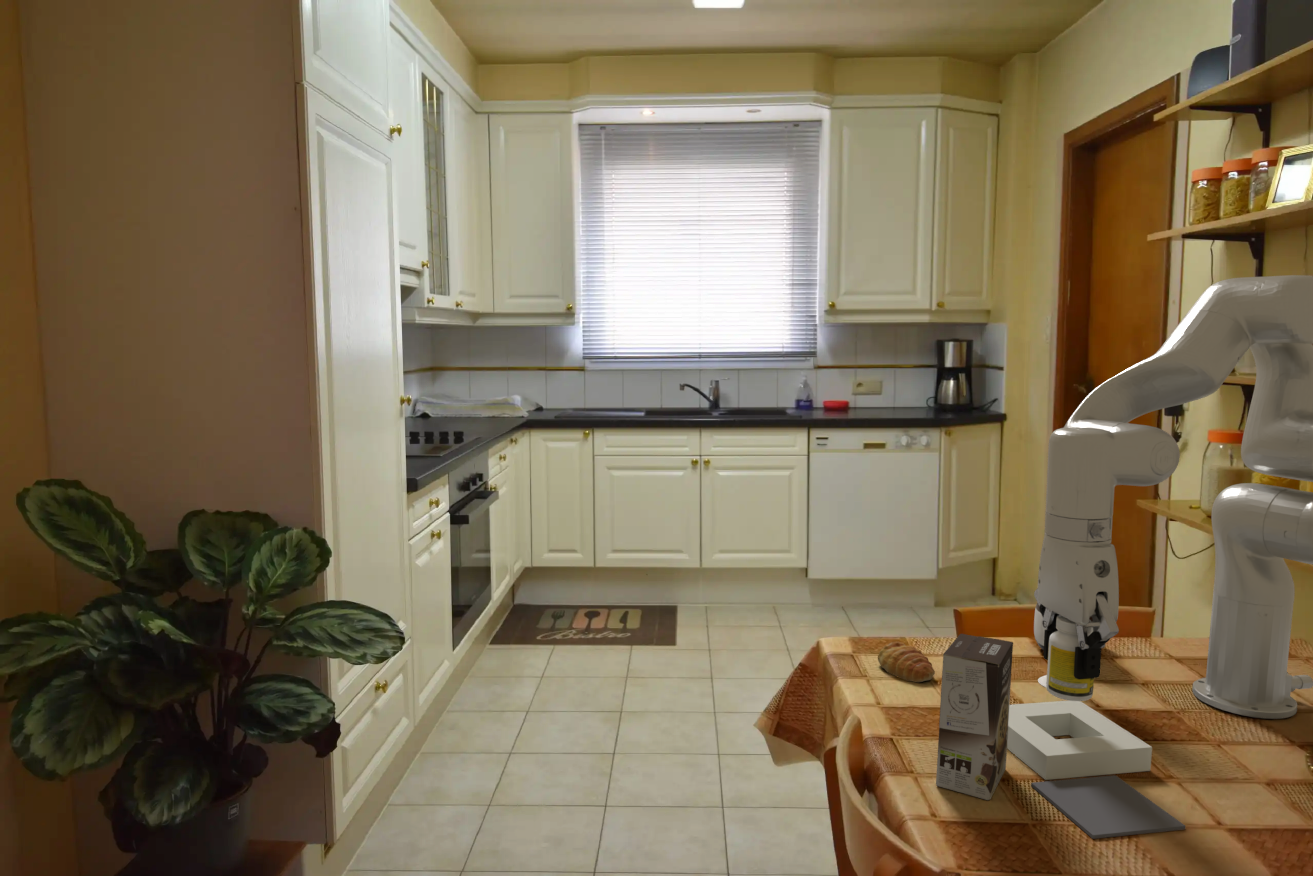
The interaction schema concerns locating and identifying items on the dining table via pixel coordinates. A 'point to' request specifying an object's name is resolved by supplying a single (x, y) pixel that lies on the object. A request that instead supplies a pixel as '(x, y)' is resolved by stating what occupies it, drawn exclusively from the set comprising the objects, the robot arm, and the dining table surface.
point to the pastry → (905, 662)
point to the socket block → (1073, 741)
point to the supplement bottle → (1066, 663)
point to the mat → (1106, 807)
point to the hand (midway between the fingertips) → (1070, 666)
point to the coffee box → (974, 715)
